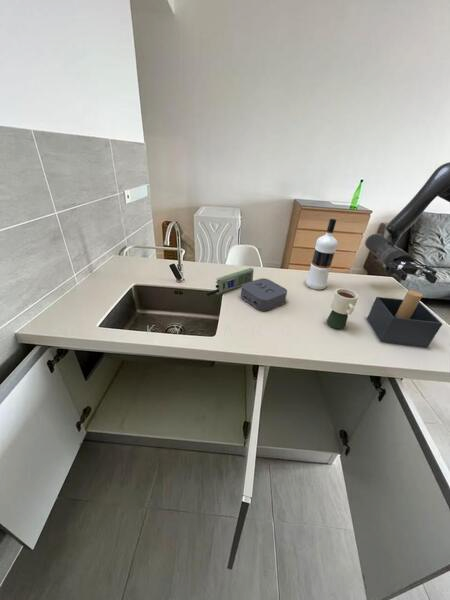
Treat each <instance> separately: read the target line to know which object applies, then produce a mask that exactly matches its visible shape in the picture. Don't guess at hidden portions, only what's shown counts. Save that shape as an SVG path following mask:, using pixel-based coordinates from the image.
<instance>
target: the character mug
mask: <svg viewBox="0 0 450 600" xmlns="http://www.w3.org/2000/svg"><path fill="white" fill-rule="evenodd" d="M358 299H359V294H358V293H357V292H356V291H354V290H351V289H349V288H343V287H341V288H336V289H335V291H334V294H333V298H332V300H331V303H330V309H331V311H330V313H329V315H328V316H327V319H326V323H327V325H328V326H330V327H332V328H335V329H339V330H340V329H341V330H344V329H345V328H346V326H347V324H348V323H347V322H348V318H349V316H350V315H352V314H353V312H354V310H355V309H354V308H355V307H356V304H357V303H358V302H357V301H358Z"/></svg>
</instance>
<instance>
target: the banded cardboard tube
mask: <svg viewBox="0 0 450 600" xmlns="http://www.w3.org/2000/svg"><path fill="white" fill-rule="evenodd" d="M422 298H423V293H421V292H419V291H417V290H412V289H408V290H407V291H406V294H405V295H404V297H403V299H402V300H403V301H402V303H401V305H400V307H399V309H398V311H397V313H396V314H395V316H394V317H396V318H404V319H410V318H411V316H412V314H413V312H414V311H415V309H416V307H417V305H418V303H419V302H420V303H421V299H422Z"/></svg>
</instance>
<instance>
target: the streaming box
mask: <svg viewBox="0 0 450 600" xmlns="http://www.w3.org/2000/svg"><path fill="white" fill-rule="evenodd" d="M240 289H241V290H240V298H241V300H243V301H244V302H246V303H248V304H249V305H251V306H252V307H254V308H255V309H256V310H258V311H262V312H266V311H267V312H268V311H269V310H272V309H274V308H276V307H278V306H281V305H283V304H285V303H286V300H287V294H288V289H287V288H285V287H284V286H281V285H279V284H278V283H276V282H275V281H273V280H271V279H269V278H257V279H253V281H251V282H248V283H245V284H243V285H242V286H241V288H240Z"/></svg>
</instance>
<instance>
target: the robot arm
mask: <svg viewBox="0 0 450 600" xmlns="http://www.w3.org/2000/svg"><path fill="white" fill-rule="evenodd" d="M437 197H438V198H440V199H442V200H445V201H446V202H448V203H450V161H449V162H445V163H443V164H442V165H440V166H438V167H437V168H436V169H435V170H434V171H433V172H432V173H431V175H430V176H429V178H428V179H427V180H426V181H425V183H424V184H423V185H422V187H420V189H419V190H418V192H417V193H415V195H414V196H413V198H411V200H409V202H408V203H407V204H406V205H405V206H404V207H403V208H402V209H401V210H400V211H399V212H398V213H397V214H396V215H395V216H394V217H393V218H392V219H391V220H390V221H389V222H388V223H387V224H386V225H385V226H384V231H385V233H386V237H385V236H383V235H382V234H380V233H372V234H370V235H369V236H368V237H367V238H366V239H365V241H364V246H365V248H366V249H367V250H368V251H370V253H372V254H373V255H374V256H375V257H376V258H377V259H378V260H379V261H380V262H381V263H382V264H383V265H382V267H381V268H382V270H383V271H384V272H385V273H386V274H387V275H393V276H394V277H397V278H398V279H400V280H401V281H404V282H405V281H406V280H407V278H408V275H409V276H410V275H411V276H413V277H416V278H423V279H425V280H426V281H427V282H429V283H430V284H435V283H436V282H437V281H438V276H436V274H437V273H438V271H437V270H435V269H434V268H432V267H431V266H430V265H427V264H422V265H419V264H417V263H416V262H415V260H414V258H413V256H412V255H411V254H409V253H408V252H407V251H405V250H403V249H402V248H400V247H398V246H396V245H397V243H398V241H399V240H400V238H401V237H402V235H403V234H404V233H406V231H408V230H409V229H410V228H411V227H412V226H413V225H414V224H415V223H416V222H417V221H418V219H419V218H420V217H421V216H422V214H423V213H424V212H425V210H426V209H427V208H428V207H429V205H430V204H431V203H432V202H433V201H435V199H436V198H437Z"/></svg>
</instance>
